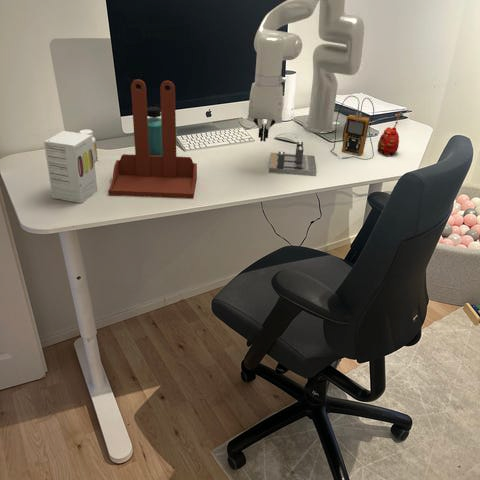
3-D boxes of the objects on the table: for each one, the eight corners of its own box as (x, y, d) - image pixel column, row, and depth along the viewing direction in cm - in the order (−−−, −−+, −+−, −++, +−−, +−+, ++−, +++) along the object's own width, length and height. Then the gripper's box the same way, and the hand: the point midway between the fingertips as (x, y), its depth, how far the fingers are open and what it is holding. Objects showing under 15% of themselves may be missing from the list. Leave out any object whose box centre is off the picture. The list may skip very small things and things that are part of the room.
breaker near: (277, 164, 167) (278, 150, 164) (283, 164, 167) (284, 151, 164) (277, 167, 165) (278, 153, 162) (283, 167, 164) (284, 154, 162)
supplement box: (81, 204, 142) (73, 146, 133) (51, 198, 144) (42, 141, 135) (98, 189, 150) (92, 134, 141) (70, 184, 152) (62, 129, 143)
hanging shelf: (108, 195, 147) (98, 90, 132) (118, 176, 158) (109, 77, 143) (193, 199, 148) (192, 94, 132) (196, 179, 159) (196, 81, 143)
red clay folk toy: (372, 149, 187) (380, 109, 179) (389, 148, 189) (398, 107, 181) (384, 157, 180) (392, 116, 173) (401, 156, 182) (410, 114, 175)
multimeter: (324, 156, 179) (332, 99, 168) (334, 147, 187) (342, 92, 176) (365, 166, 173) (376, 107, 163) (373, 156, 181) (384, 100, 171)
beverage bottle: (171, 169, 164) (169, 107, 154) (158, 176, 159) (155, 113, 149) (155, 164, 167) (152, 103, 156) (141, 171, 162) (137, 108, 151)
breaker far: (295, 153, 175) (297, 140, 172) (301, 154, 175) (303, 141, 172) (295, 156, 173) (297, 143, 170) (301, 157, 173) (303, 144, 170)
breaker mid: (295, 159, 171) (297, 146, 168) (301, 160, 171) (303, 146, 168) (296, 162, 169) (297, 149, 166) (302, 162, 168) (303, 149, 166)
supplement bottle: (89, 155, 171) (85, 127, 166) (101, 159, 168) (98, 130, 163) (76, 160, 167) (73, 132, 162) (89, 164, 164) (85, 135, 159)
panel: (270, 156, 176) (270, 152, 176) (314, 160, 176) (314, 155, 175) (269, 172, 165) (269, 167, 165) (316, 175, 165) (316, 171, 164)
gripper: (293, 79, 155) (286, 137, 164) (243, 75, 155) (240, 134, 164) (293, 85, 148) (286, 146, 157) (241, 81, 149) (238, 142, 158)
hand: (262, 139), depth 161 cm, fingers closed
